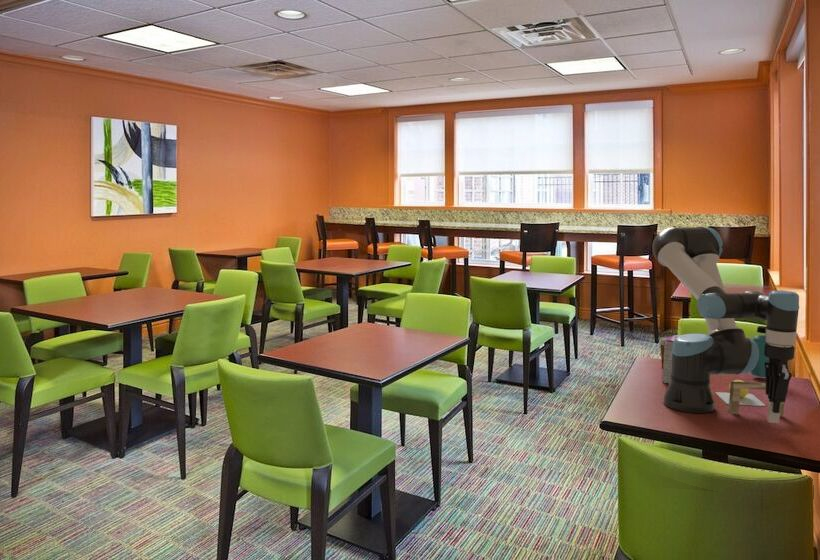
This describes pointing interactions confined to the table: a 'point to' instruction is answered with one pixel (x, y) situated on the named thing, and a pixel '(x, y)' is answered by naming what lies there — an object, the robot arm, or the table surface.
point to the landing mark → (741, 399)
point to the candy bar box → (668, 358)
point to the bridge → (735, 395)
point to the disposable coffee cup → (662, 348)
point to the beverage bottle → (760, 353)
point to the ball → (743, 391)
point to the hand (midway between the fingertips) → (772, 421)
